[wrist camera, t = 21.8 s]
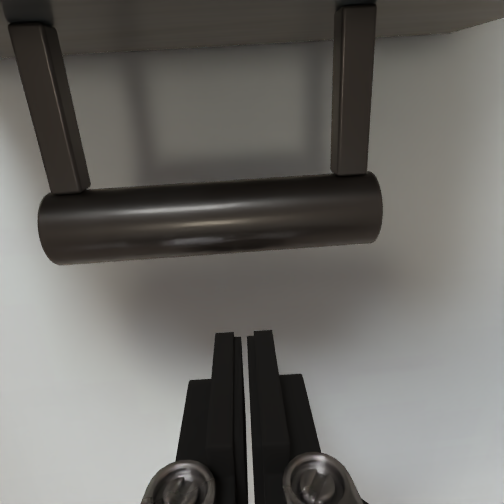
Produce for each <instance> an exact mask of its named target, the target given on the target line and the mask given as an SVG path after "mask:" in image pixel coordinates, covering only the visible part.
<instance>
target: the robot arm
mask: <svg viewBox="0 0 504 504" xmlns="http://www.w3.org/2000/svg"><path fill="white" fill-rule="evenodd" d="M247 349H248V370H249V392H250V413H251V435H252V455H253V475H254V495H255V504H368V503H367V502H365V501H364V500H363V499H361V497H360V495H359V493H358V491H357V489H356V487H355V485H354V483H353V480H352V478H351V476H350V474H349V473H348V471H347V470H346V468H345V467H344V466H343V465H342V464H341V463H340V462H339V461H338V460H337V459H335V458H333V457H331V456H329V455H327V454H324V453H321V450H320V446H319V442H318V438H317V434H316V429H315V425H314V421H313V417H312V413H311V409H310V405H309V401H308V396H307V392H306V388H305V384H304V380H303V377H302V374H288V375H279V372H278V366H277V359H276V353H275V347H274V340H273V334H272V330H262V331H254V336H247ZM141 504H248V479H247V446H246V415H245V396H244V378H243V360H242V343H241V337H234V332H225V333H216V334H215V343H214V355H213V366H212V377H211V379H201V380H190V381H189V384H188V390H187V396H186V402H185V408H184V414H183V420H182V426H181V432H180V437H179V443H178V449H177V455H176V461H175V462H173V463H170V464H168V465H167V466H165V467H164V468H162V469H160V470H159V471H158V472H157V473H156V475H155V476H154V477H153V478H152V479H151V481H150V483H149V485H148V487H147V489H146V491H145V494H144V496H143V499H142V502H141Z"/></svg>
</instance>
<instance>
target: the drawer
mask: <svg viewBox="0 0 504 504" xmlns="http://www.w3.org/2000/svg"><path fill="white" fill-rule="evenodd" d="M501 18H504V0H0V59H1V58H16V62H17V65H18V69H19V73H20V77H21V81H22V84H23V88H24V92H25V96H26V99H27V103H28V107H29V111H30V115H31V118H32V122H33V126H34V130H35V133H36V137H37V141H38V145H39V149H40V152H41V156H42V160H43V164H44V168H45V171H46V175H47V179H48V183H49V186H50V190H51V192H50V193H48V194H47V195H45V196H44V198H43V199H42V201H41V203H40V206H39V211H38V232H39V238H40V242H41V245H42V247H43V250H44V252H45V254H46V255H47V257H48V258H49V259H50V260H51V261H52V262H53V263H55V264H57V265H73V264H87V263H101V262H115V261H129V260H143V259H157V258H171V257H185V256H199V255H213V254H227V253H241V252H255V251H269V250H283V249H297V248H311V247H325V246H339V245H353V244H368V243H372V242H374V241H375V240H376V239H377V237H378V235H379V233H380V229H381V225H382V216H383V203H382V195H381V190H380V186H379V183H378V180H377V178H376V176H375V175H374V174H373V173H372V172H369V171H367V161H368V145H369V129H370V113H371V97H372V81H373V64H374V48H375V38H377V37H395V36H413V35H431V34H449V33H452V32H456V31H459V30H463V29H466V28H470V27H473V26H476V25H480V24H483V23H487V22H490V21H494V20H497V19H501ZM324 40H334V43H333V83H332V123H331V163H330V169H331V171H332V172H333V173H332V174H317V175H302V176H287V177H271V178H256V179H241V180H226V181H211V182H195V183H180V184H165V185H150V186H135V187H119V188H104V189H89V190H86V189H88V188H89V187H90V185H91V183H90V178H89V174H88V169H87V165H86V160H85V156H84V151H83V147H82V142H81V138H80V133H79V129H78V124H77V120H76V115H75V111H74V106H73V102H72V97H71V93H70V88H69V84H68V79H67V75H66V70H65V66H64V61H63V57H62V55H73V54H91V53H109V52H127V51H145V50H162V49H180V48H198V47H216V46H234V45H252V44H270V43H288V42H306V41H324Z"/></svg>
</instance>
